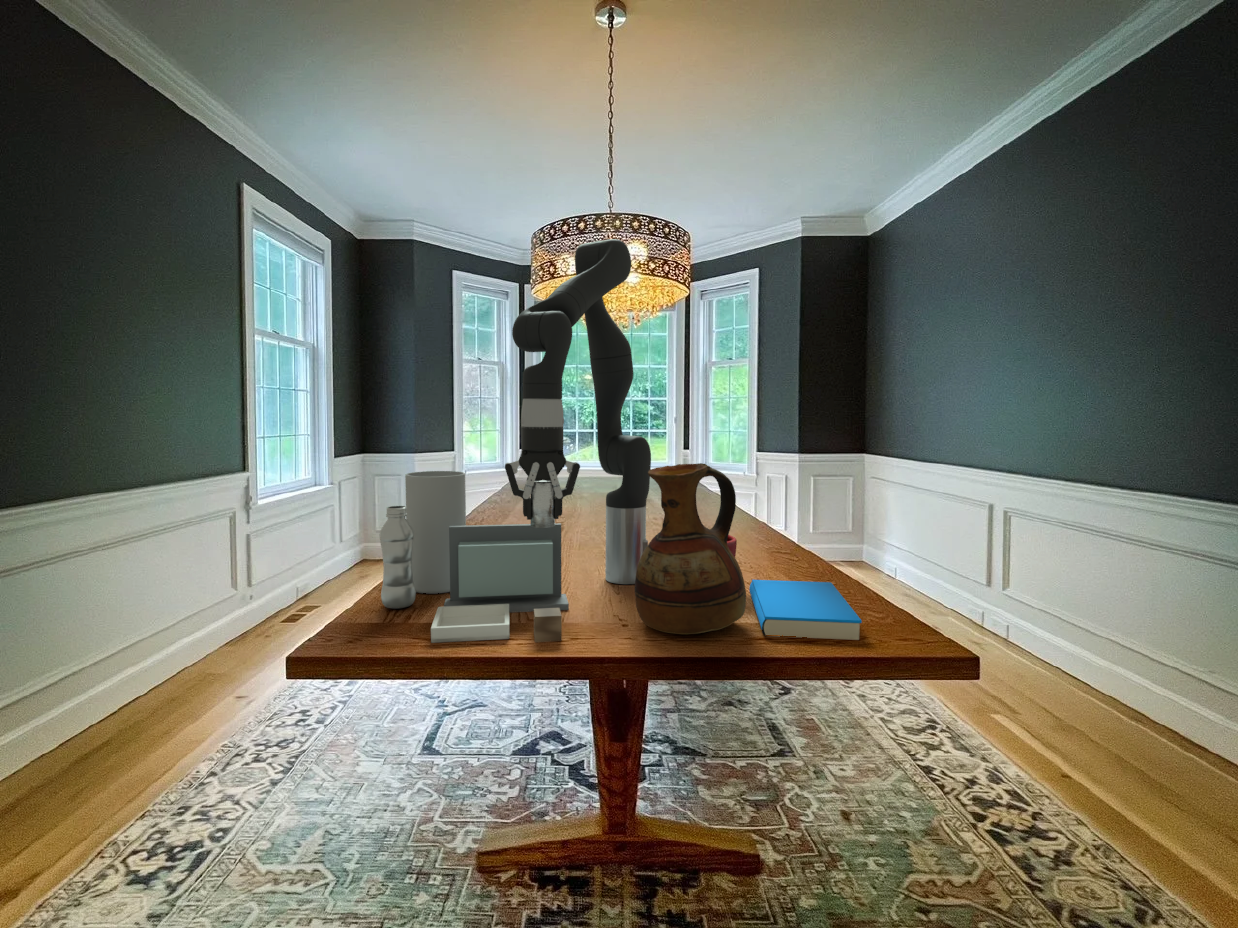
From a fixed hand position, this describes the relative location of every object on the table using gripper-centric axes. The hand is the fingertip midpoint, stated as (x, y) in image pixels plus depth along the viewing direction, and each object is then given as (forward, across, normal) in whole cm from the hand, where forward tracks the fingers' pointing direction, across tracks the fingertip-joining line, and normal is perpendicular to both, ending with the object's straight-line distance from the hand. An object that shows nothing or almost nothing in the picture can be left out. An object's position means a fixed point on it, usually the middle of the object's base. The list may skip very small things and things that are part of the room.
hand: (542, 518), depth 119 cm
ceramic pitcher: (+20, -26, +6) cm, 33 cm away
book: (+20, -49, +3) cm, 53 cm away
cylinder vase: (+20, +21, -28) cm, 40 cm away
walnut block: (+20, 0, +8) cm, 21 cm away
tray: (+19, +12, +2) cm, 23 cm away
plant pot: (+19, -37, -17) cm, 45 cm away
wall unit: (+19, +6, -10) cm, 23 cm away
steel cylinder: (+1, 0, 0) cm, 1 cm away
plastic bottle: (+20, +27, -14) cm, 36 cm away
